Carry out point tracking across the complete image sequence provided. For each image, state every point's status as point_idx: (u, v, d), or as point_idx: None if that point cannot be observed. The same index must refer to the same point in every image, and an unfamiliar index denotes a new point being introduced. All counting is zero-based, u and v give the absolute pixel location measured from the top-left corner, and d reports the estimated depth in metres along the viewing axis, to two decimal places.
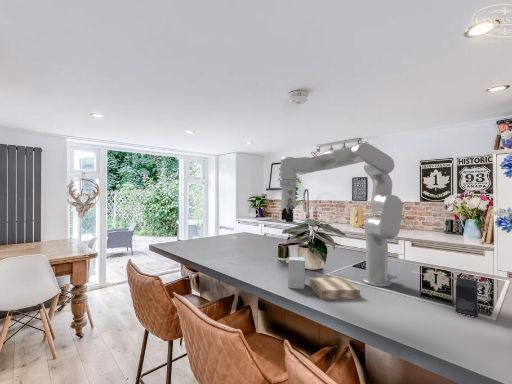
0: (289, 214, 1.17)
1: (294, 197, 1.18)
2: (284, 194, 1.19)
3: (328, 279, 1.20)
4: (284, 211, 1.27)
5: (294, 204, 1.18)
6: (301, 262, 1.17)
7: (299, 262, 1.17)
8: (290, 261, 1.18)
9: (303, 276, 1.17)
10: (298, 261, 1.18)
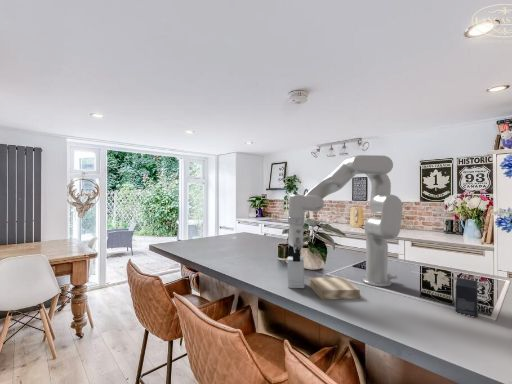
0: (296, 254, 1.15)
1: (302, 236, 1.17)
2: (292, 232, 1.18)
3: (328, 279, 1.20)
4: (291, 247, 1.26)
5: (301, 243, 1.17)
6: (300, 261, 1.18)
7: None
8: (289, 261, 1.18)
9: (302, 275, 1.17)
10: None
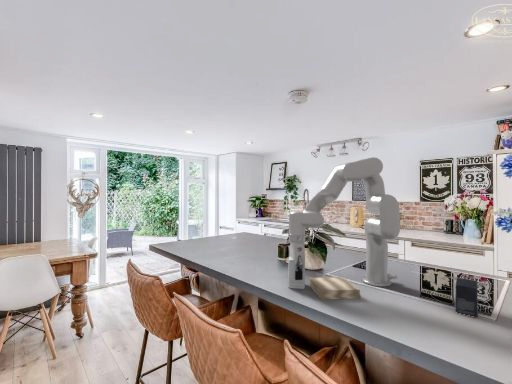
0: (298, 272, 1.16)
1: (303, 254, 1.17)
2: (293, 250, 1.18)
3: (328, 279, 1.20)
4: None
5: (303, 261, 1.17)
6: None
7: None
8: (290, 261, 1.18)
9: (303, 276, 1.17)
10: (298, 261, 1.18)
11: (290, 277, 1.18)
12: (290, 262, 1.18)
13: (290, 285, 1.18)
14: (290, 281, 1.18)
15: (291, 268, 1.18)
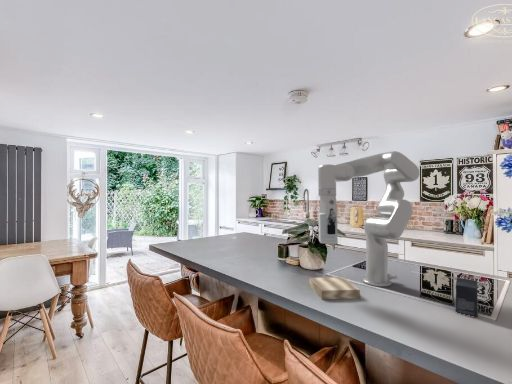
0: (331, 226, 1.11)
1: (336, 207, 1.12)
2: (324, 204, 1.13)
3: (328, 279, 1.20)
4: None
5: (336, 214, 1.11)
6: None
7: (331, 216, 1.12)
8: (322, 215, 1.13)
9: (336, 230, 1.12)
10: (330, 215, 1.13)
11: (322, 232, 1.13)
12: (321, 216, 1.13)
13: (322, 240, 1.13)
14: (322, 236, 1.13)
15: (323, 222, 1.13)
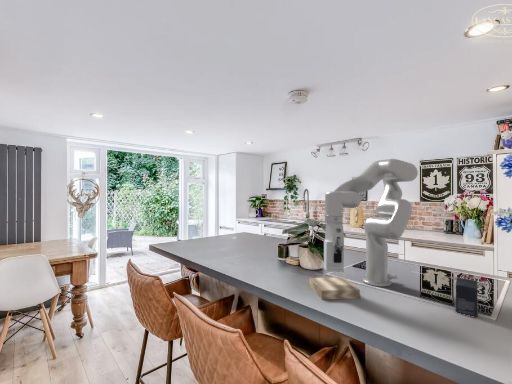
0: (337, 255, 1.09)
1: (342, 235, 1.10)
2: (331, 232, 1.11)
3: (328, 279, 1.20)
4: None
5: (343, 243, 1.10)
6: None
7: (338, 244, 1.11)
8: (328, 243, 1.12)
9: (342, 258, 1.11)
10: (337, 243, 1.11)
11: (328, 260, 1.11)
12: (328, 244, 1.12)
13: (328, 268, 1.11)
14: (328, 264, 1.11)
15: (329, 250, 1.11)
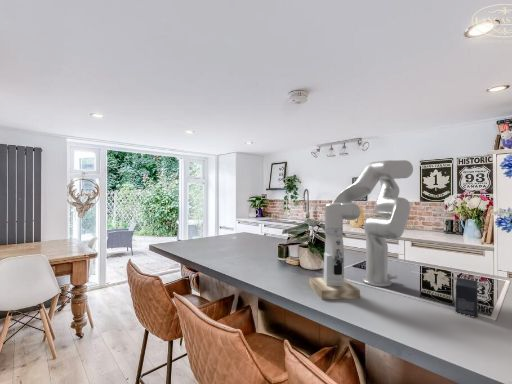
0: (338, 267, 1.09)
1: (342, 248, 1.10)
2: (331, 244, 1.11)
3: None
4: None
5: (342, 255, 1.10)
6: None
7: None
8: (329, 257, 1.12)
9: (342, 272, 1.11)
10: (337, 257, 1.11)
11: (328, 274, 1.12)
12: (328, 258, 1.12)
13: (328, 282, 1.11)
14: (328, 278, 1.11)
15: (329, 264, 1.12)
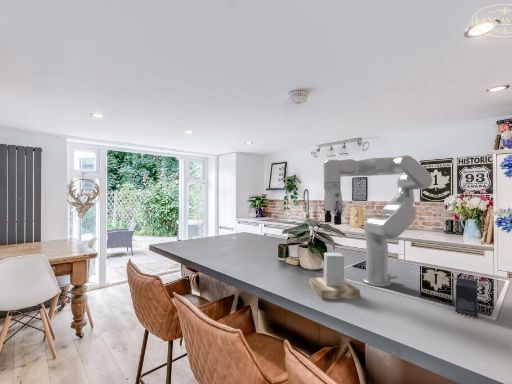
0: (337, 217, 1.17)
1: (341, 200, 1.18)
2: (330, 197, 1.19)
3: None
4: (327, 213, 1.27)
5: None
6: (340, 258, 1.11)
7: (338, 258, 1.11)
8: (329, 257, 1.12)
9: (342, 272, 1.11)
10: (337, 257, 1.11)
11: (328, 274, 1.12)
12: (328, 258, 1.12)
13: (328, 282, 1.11)
14: (328, 278, 1.11)
15: (329, 264, 1.12)
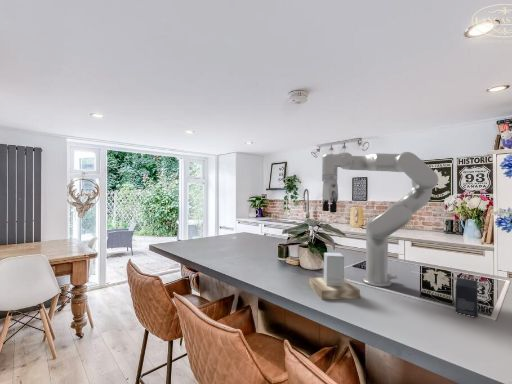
0: (333, 205, 1.30)
1: (337, 190, 1.31)
2: (327, 187, 1.32)
3: None
4: (325, 203, 1.40)
5: (337, 196, 1.31)
6: (340, 258, 1.11)
7: (338, 258, 1.11)
8: (329, 257, 1.12)
9: (342, 272, 1.11)
10: (337, 257, 1.11)
11: (328, 274, 1.12)
12: (328, 258, 1.12)
13: (328, 282, 1.11)
14: (328, 278, 1.11)
15: (329, 264, 1.12)
